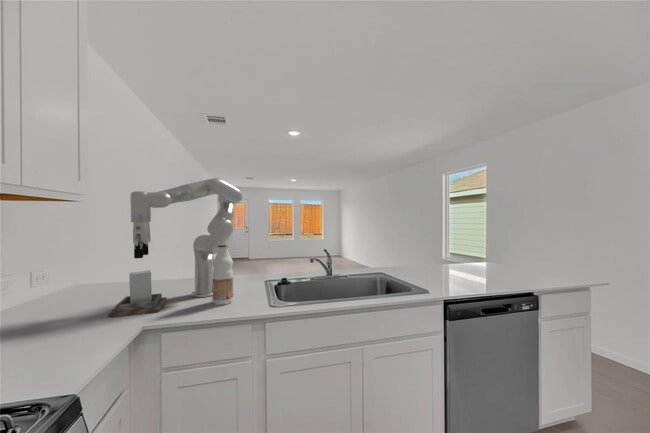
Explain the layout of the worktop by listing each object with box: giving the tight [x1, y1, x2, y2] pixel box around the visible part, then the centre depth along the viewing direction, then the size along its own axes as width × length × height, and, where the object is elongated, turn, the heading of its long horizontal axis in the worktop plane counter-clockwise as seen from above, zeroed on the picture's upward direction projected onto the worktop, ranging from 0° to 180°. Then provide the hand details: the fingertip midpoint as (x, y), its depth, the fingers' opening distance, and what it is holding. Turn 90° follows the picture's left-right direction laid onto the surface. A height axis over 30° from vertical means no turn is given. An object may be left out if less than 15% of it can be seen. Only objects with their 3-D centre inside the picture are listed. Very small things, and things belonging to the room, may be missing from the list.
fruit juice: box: [211, 243, 234, 306], centre depth 133 cm, size 9×9×28 cm
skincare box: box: [129, 269, 153, 304], centre depth 124 cm, size 8×6×15 cm
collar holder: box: [108, 292, 168, 318], centre depth 124 cm, size 18×18×4 cm
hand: (141, 256), depth 125 cm, fingers open, 9 cm apart
